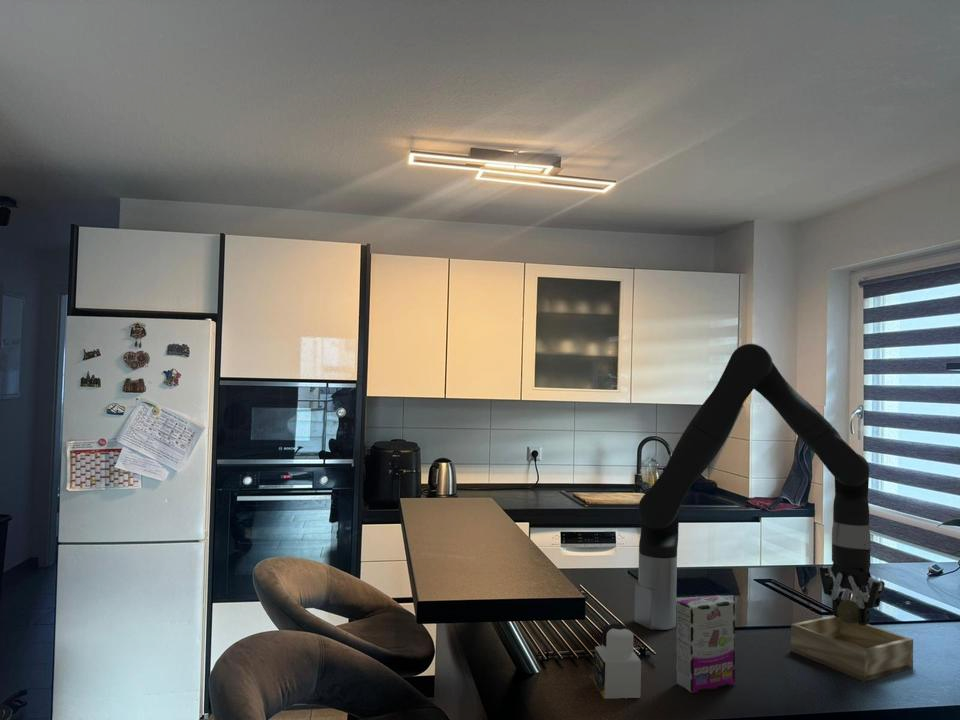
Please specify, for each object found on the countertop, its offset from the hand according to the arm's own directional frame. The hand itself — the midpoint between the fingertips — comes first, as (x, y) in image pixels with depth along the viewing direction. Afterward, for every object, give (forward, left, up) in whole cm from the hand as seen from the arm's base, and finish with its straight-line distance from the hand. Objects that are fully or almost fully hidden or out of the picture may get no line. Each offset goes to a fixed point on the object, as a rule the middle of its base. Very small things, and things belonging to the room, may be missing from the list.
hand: (850, 620), depth 146 cm
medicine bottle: (-58, +9, -9) cm, 59 cm away
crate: (0, 0, -8) cm, 8 cm away
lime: (0, 0, -1) cm, 1 cm away
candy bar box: (-40, +4, -9) cm, 41 cm away
